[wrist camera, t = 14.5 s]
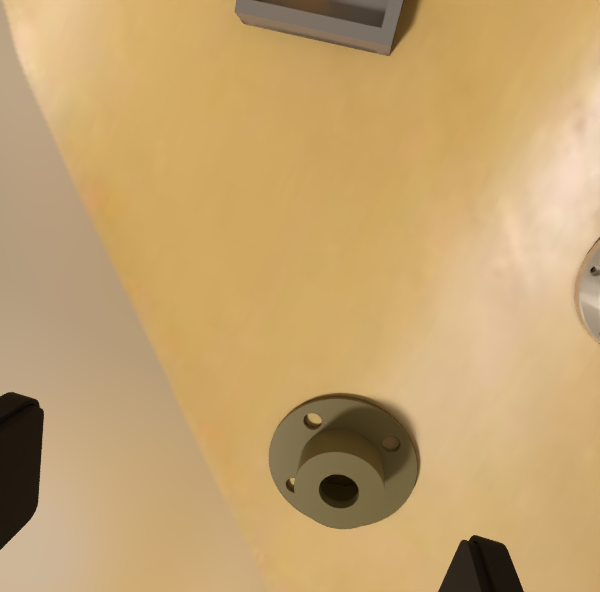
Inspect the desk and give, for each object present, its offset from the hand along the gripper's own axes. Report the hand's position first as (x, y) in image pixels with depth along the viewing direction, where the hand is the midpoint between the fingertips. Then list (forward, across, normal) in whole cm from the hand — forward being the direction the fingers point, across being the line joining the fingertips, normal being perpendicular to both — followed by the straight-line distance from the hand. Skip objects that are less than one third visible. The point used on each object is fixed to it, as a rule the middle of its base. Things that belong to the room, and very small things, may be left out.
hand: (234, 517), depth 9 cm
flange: (+31, -6, +20) cm, 37 cm away
